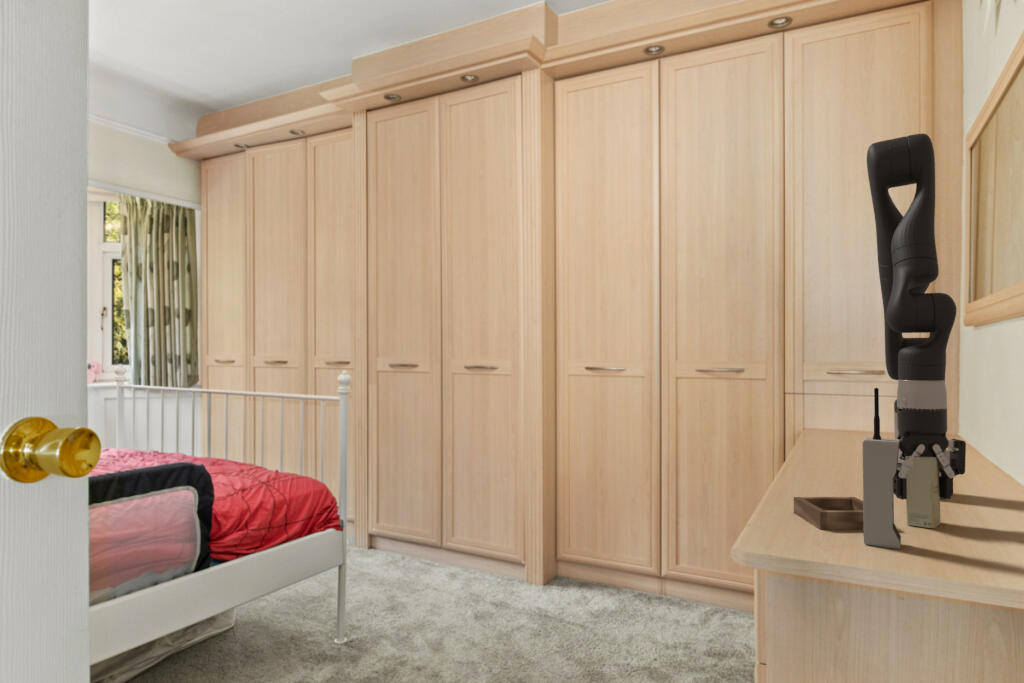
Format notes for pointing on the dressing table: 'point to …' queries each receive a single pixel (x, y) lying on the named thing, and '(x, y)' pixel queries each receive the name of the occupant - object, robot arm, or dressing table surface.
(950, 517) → the dressing table surface
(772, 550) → the dressing table surface
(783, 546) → the dressing table surface
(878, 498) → the vintage mobile phone
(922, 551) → the dressing table surface
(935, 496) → the skincare box
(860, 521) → the walnut holder
